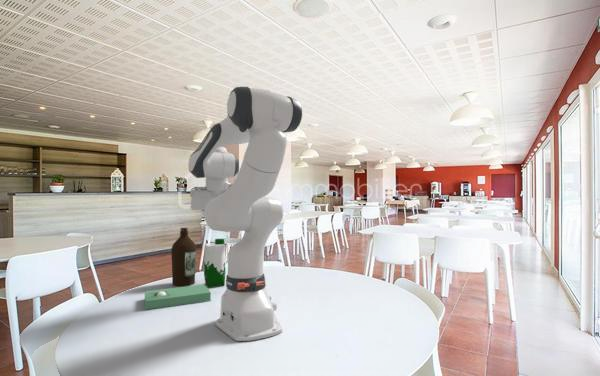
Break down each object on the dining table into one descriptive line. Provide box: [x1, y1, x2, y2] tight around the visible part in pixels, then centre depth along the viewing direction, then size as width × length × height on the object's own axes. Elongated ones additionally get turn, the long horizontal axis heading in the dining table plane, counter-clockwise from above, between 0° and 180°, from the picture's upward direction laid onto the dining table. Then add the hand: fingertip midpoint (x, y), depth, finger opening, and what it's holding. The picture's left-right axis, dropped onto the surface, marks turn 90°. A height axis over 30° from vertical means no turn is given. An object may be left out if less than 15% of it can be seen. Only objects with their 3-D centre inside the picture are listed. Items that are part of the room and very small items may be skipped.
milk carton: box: [203, 238, 227, 288], centre depth 143 cm, size 9×9×20 cm
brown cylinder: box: [170, 227, 197, 287], centre depth 145 cm, size 11×11×25 cm
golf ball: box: [157, 291, 167, 296], centre depth 119 cm, size 4×4×4 cm
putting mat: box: [144, 283, 212, 311], centre depth 121 cm, size 22×13×3 cm, turn 117°
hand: (216, 220), depth 131 cm, fingers closed
